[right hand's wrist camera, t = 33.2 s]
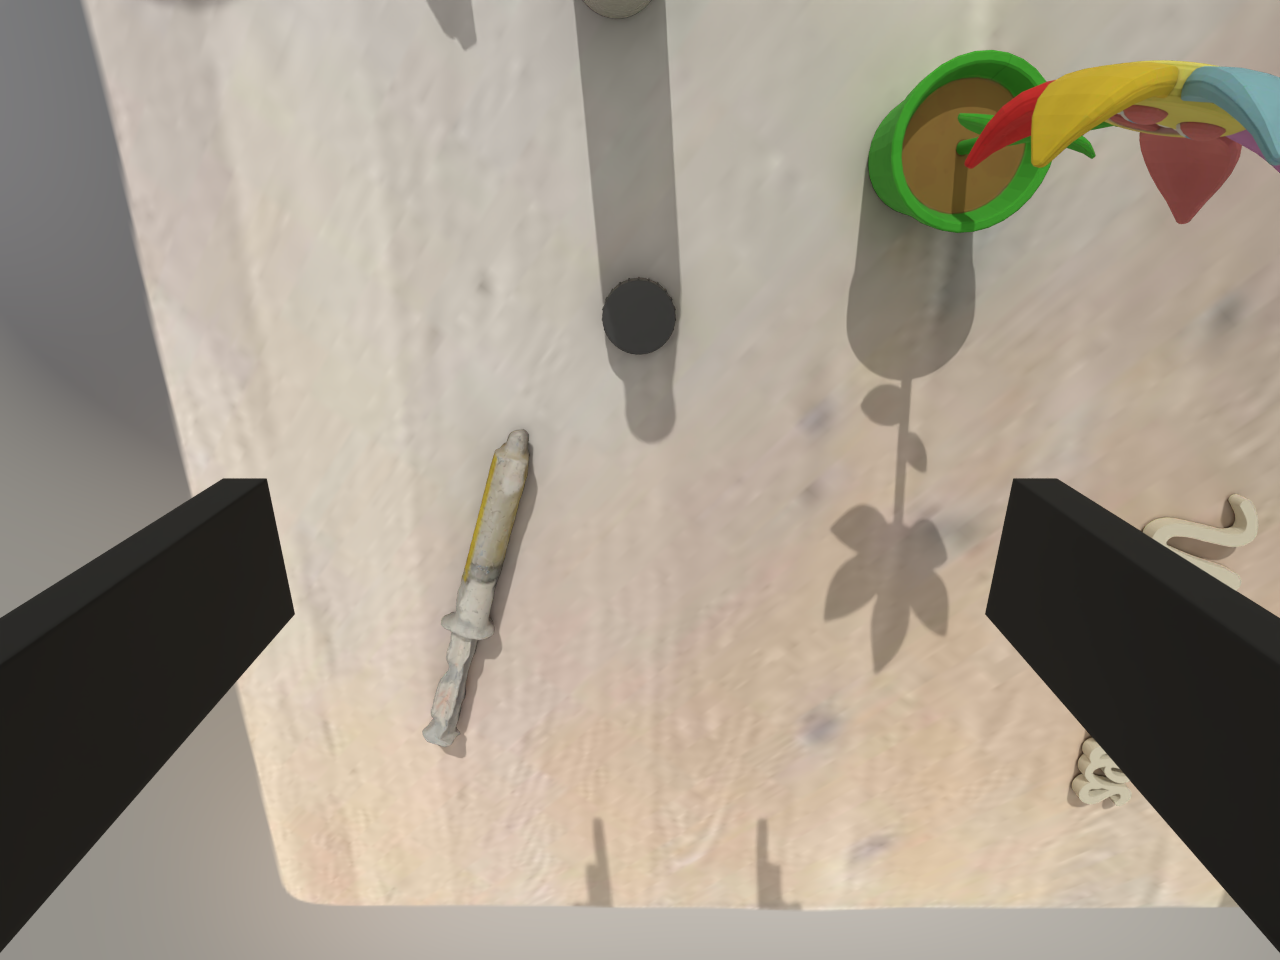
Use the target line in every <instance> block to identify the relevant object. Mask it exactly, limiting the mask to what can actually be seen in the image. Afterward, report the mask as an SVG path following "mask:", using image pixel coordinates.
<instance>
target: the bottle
mask: <svg viewBox="0 0 1280 960" xmlns="http://www.w3.org/2000/svg"><path fill="white" fill-rule="evenodd" d="M583 1H584V2H585V3H586V5H587V6H588V7H590V8H591V9H592V10H593V11H595V12H596V13H598V14H600V15H602V16H605V17H609V18H625V17H629V16H632V15H634V14H636V13H638V12H640V11H641V10H642V9H644V8H645V7H646V6H647V5H648V4H649V3H650V1H651V0H583Z"/></svg>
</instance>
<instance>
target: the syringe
mask: <svg viewBox="0 0 1280 960" xmlns="http://www.w3.org/2000/svg"><path fill="white" fill-rule="evenodd" d="M528 441H529V434H528V433H527V432H526V431H525V430H516V431H513V432H511V433H510V435H509V437H508V440H507V442H506V443H504V444H503V445H502V446H501V448H499V449H497V450H496V451H495V453H494V456H493V460H492V463H491V466H490V471H489V475H488V479H487V482H486V487H485V491H484V495H483V499H482V504H481V507H480V511H479V515H478V519H477V523H476V527H475V530H474V534H473V539H472V542H471V545H470V550H469V554H468V557H467V562H466V565H465V568H464V572H463V575H462V580H461V585H460V587H459V590H458V595H457V603H456V612H455V613H454V612H451V613H450V614H448V615H445V616H444V617H443V618H442V620H441V625H442V626H443V627H444V628H445V629H447V630H449V631H451V632H452V633H451V641H450V644H449V648H448V650H447V657H446V658H447V662H448V664H449V669H448V671H447V672H446V673H445V675H444V676H443V677H442V678H441V680H440V682H439V684H438V687H437V690H436V694H435V697H434V701H433V706H432V709H431V716H432V717H433V718H434V719H433V720H432V721H431V722H430V723H429V725H428V726H427V727H426V728H424V730H423V731H422V733H423V736H424V738H425V739H426V741H427V742H430V743H433V744H437V745H439V746H443V747H447V746H449V745H451V744H452V742H453V741H454V739H455V738H456V737H457V736H458V735H460V732H459V731H458V729H457V728H456V725H457V722H458V719H459V715H460V711H461V703H462V701H463V700H464V698H465V695H466V688H465V685H466V680H467V675H468V670H469V667H470V664H471V661H472V658H473V656H474V654H475V651H476V646H477V642H478V640H482V639H486V638H489V637H490V636H492V635H493V634H494V623H493V621H492V620H491V619H490V617H489V614H490V609H491V605H492V601H493V597H494V590H495V586H496V584H497V581H498V578H499V575H500V572H501V570H502V566H503V562H504V559H505V553H506V549H507V546H508V542H509V538H510V534H511V530H512V527H513V524H514V521H515V517H516V512H517V509H518V505H519V501H520V498H521V495H522V492H523V489H524V485H525V480H526V478H527V474H528V461H529V456H530V454H529V452H528Z"/></svg>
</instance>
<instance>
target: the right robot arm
mask: <svg viewBox="0 0 1280 960" xmlns="http://www.w3.org/2000/svg"><path fill="white" fill-rule="evenodd" d="M294 614H295V613H294V608H293V603H292V598H291V593H290V589H289V584H288V579H287V574H286V569H285V564H284V560H283V555H282V550H281V545H280V540H279V535H278V531H277V526H276V521H275V516H274V511H273V506H272V502H271V497H270V492H269V487H268V482H267V479H222V480H220V481H218V482H217V483H215V484H214V485H212V486H210V487H209V488H207V489H206V490H204V491H202V492H201V493H199V494H198V495H196V496H194V497H193V498H191V499H190V500H188V501H186V502H185V503H183V504H182V505H180V506H179V507H177V508H175V509H174V510H172V511H171V512H169V513H167V514H166V515H164V516H163V517H161V518H159V519H158V520H156V521H155V522H153V523H151V524H150V525H148V526H147V527H145V528H144V529H142V530H140V531H139V532H137V533H135V534H134V535H132V536H131V537H129V538H127V539H126V540H124V541H123V542H121V543H119V544H118V545H116V546H115V547H113V548H111V549H110V550H108V551H107V552H105V553H103V554H102V555H100V556H99V557H97V558H95V559H94V560H92V561H91V562H89V563H88V564H86V565H84V566H83V567H81V568H80V569H78V570H76V571H75V572H73V573H72V574H70V575H68V576H67V577H65V578H64V579H62V580H60V581H59V582H57V583H56V584H54V585H52V586H51V587H49V588H48V589H46V590H44V591H43V592H41V593H40V594H38V595H36V596H35V597H33V598H32V599H30V600H29V601H27V602H25V603H24V604H22V605H20V606H19V607H17V608H16V609H14V610H12V611H11V612H9V613H8V614H6V615H5V616H3V617H1V618H0V952H1V951H2V950H3V949H4V948H5V947H6V945H7V944H8V943H9V942H10V941H11V940H12V939H13V937H14V936H15V935H16V934H17V933H18V932H19V931H20V929H21V928H22V927H23V926H24V925H25V924H26V922H27V921H28V920H29V919H30V918H31V917H32V916H33V914H34V913H35V912H36V911H37V910H38V909H39V908H40V906H41V905H42V904H43V903H44V902H45V901H46V899H47V898H48V897H49V896H50V895H51V894H52V893H53V891H54V890H55V889H56V888H57V887H58V886H59V885H60V883H61V882H62V881H63V880H64V879H65V878H66V876H67V875H68V874H69V873H70V872H71V871H72V870H73V868H74V867H75V866H76V865H77V864H78V863H79V862H80V860H81V859H82V858H83V857H84V856H85V855H86V854H87V852H88V851H89V850H90V849H91V848H92V847H93V845H94V844H95V843H96V842H97V841H98V840H99V839H100V837H101V836H102V835H103V834H104V833H105V832H106V830H107V829H108V828H109V827H110V826H111V825H112V824H113V822H114V821H115V820H116V819H117V818H118V817H119V816H120V814H121V813H122V812H123V811H124V810H125V809H126V807H127V806H128V805H129V804H130V803H131V802H132V801H133V800H134V798H135V797H136V796H137V795H138V794H139V793H140V791H141V790H142V789H143V788H144V787H145V786H146V784H147V783H148V782H149V781H150V780H151V779H152V778H153V777H154V775H155V774H156V773H157V772H158V771H159V770H160V768H161V767H162V766H163V765H164V764H165V763H166V762H167V760H168V759H169V758H170V757H171V756H172V755H173V753H174V752H175V751H176V750H177V749H178V748H179V747H180V745H181V744H182V743H183V742H184V741H185V740H186V738H187V737H188V736H189V735H190V734H191V733H192V732H193V731H194V729H195V728H196V727H197V726H198V725H199V724H200V722H201V721H202V720H203V719H204V718H205V717H206V716H207V714H208V713H209V712H210V711H211V710H212V709H213V708H214V706H215V705H216V704H217V703H218V702H219V701H220V699H221V698H222V697H223V696H224V695H225V694H226V693H227V691H228V690H229V689H230V688H231V687H232V686H233V685H234V683H235V682H236V681H237V680H238V679H239V678H240V677H241V675H242V674H243V673H244V672H245V671H246V670H247V668H248V667H249V666H250V665H251V664H252V663H253V662H254V660H255V659H256V658H257V657H258V656H259V655H260V654H261V652H262V651H263V650H264V649H265V648H266V647H267V646H268V644H269V643H270V642H271V641H272V640H273V639H274V637H275V636H276V635H277V634H278V633H279V632H280V631H281V629H282V628H283V627H284V626H285V625H286V624H287V623H288V621H289V620H290V619H291V618H292V617H293V616H294ZM985 614H986V616H987V617H988V618H989V619H990V620H991V621H992V623H993V624H994V625H995V626H996V627H997V628H998V629H999V631H1000V632H1001V633H1002V634H1003V635H1004V636H1005V637H1006V639H1007V640H1008V641H1009V642H1010V643H1011V644H1012V646H1013V647H1014V648H1015V649H1016V650H1017V651H1018V652H1019V654H1020V655H1021V656H1022V657H1023V658H1024V659H1025V660H1026V662H1027V663H1028V664H1029V665H1030V666H1031V667H1032V668H1033V670H1034V671H1035V672H1036V673H1037V674H1038V675H1039V677H1040V678H1041V679H1042V680H1043V681H1044V682H1045V683H1046V685H1047V686H1048V687H1049V688H1050V689H1051V690H1052V691H1053V693H1054V694H1055V695H1056V696H1057V697H1058V698H1059V700H1060V701H1061V702H1062V703H1063V704H1064V705H1065V706H1066V708H1067V709H1068V710H1069V711H1070V712H1071V713H1072V714H1073V716H1074V717H1075V718H1076V719H1077V720H1078V721H1079V723H1080V724H1081V725H1082V726H1083V727H1084V728H1085V729H1086V731H1087V732H1088V733H1089V734H1090V735H1091V736H1092V737H1093V739H1094V740H1095V741H1096V742H1097V743H1098V744H1099V745H1100V747H1101V748H1102V749H1103V750H1104V751H1105V752H1106V754H1107V755H1108V756H1109V757H1110V758H1111V759H1112V760H1113V762H1114V763H1115V764H1116V765H1117V766H1118V767H1119V768H1120V770H1121V771H1122V772H1123V773H1124V774H1125V775H1126V777H1127V778H1128V779H1129V780H1130V781H1131V782H1132V783H1133V785H1134V786H1135V787H1136V788H1137V789H1138V790H1139V791H1140V793H1141V794H1142V795H1143V796H1144V797H1145V798H1146V800H1147V801H1148V802H1149V803H1150V804H1151V805H1152V806H1153V808H1154V809H1155V810H1156V811H1157V812H1158V813H1159V814H1160V816H1161V817H1162V818H1163V819H1164V820H1165V821H1166V822H1167V824H1168V825H1169V826H1170V827H1171V828H1172V829H1173V831H1174V832H1175V833H1176V834H1177V835H1178V836H1179V837H1180V839H1181V840H1182V841H1183V842H1184V843H1185V844H1186V845H1187V847H1188V848H1189V849H1190V850H1191V851H1192V852H1193V854H1194V855H1195V856H1196V857H1197V858H1198V859H1199V860H1200V862H1201V863H1202V864H1203V865H1204V866H1205V867H1206V868H1207V870H1208V871H1209V872H1210V873H1211V874H1212V875H1213V877H1214V878H1215V879H1216V880H1217V881H1218V882H1219V883H1220V885H1221V886H1222V887H1223V888H1224V889H1225V890H1226V891H1227V893H1228V894H1229V895H1230V896H1231V897H1232V898H1233V900H1234V901H1235V902H1236V903H1237V904H1238V905H1239V906H1240V908H1241V909H1242V910H1243V911H1244V912H1245V913H1246V914H1247V916H1248V917H1249V918H1250V919H1251V920H1252V921H1253V922H1254V924H1255V925H1256V926H1257V927H1258V928H1259V929H1260V931H1261V932H1262V933H1263V934H1264V935H1265V936H1266V937H1267V939H1268V940H1269V941H1270V942H1271V943H1272V944H1273V945H1274V947H1275V948H1276V949H1277V950H1278V951H1279V952H1280V618H1279V617H1277V616H1275V615H1274V614H1272V613H1271V612H1269V611H1268V610H1266V609H1264V608H1263V607H1261V606H1260V605H1258V604H1256V603H1255V602H1253V601H1252V600H1250V599H1248V598H1247V597H1245V596H1244V595H1242V594H1240V593H1239V592H1237V591H1236V590H1234V589H1232V588H1231V587H1229V586H1228V585H1226V584H1224V583H1223V582H1221V581H1220V580H1218V579H1216V578H1215V577H1213V576H1212V575H1210V574H1208V573H1207V572H1205V571H1204V570H1202V569H1200V568H1199V567H1197V566H1196V565H1194V564H1192V563H1191V562H1189V561H1188V560H1186V559H1184V558H1183V557H1181V556H1180V555H1178V554H1177V553H1175V552H1173V551H1172V550H1170V549H1169V548H1167V547H1165V546H1164V545H1162V544H1161V543H1159V542H1157V541H1156V540H1154V539H1153V538H1151V537H1149V536H1148V535H1146V534H1145V533H1143V532H1141V531H1140V530H1138V529H1137V528H1135V527H1133V526H1132V525H1130V524H1129V523H1127V522H1125V521H1124V520H1122V519H1121V518H1119V517H1117V516H1116V515H1114V514H1113V513H1111V512H1109V511H1108V510H1106V509H1105V508H1103V507H1101V506H1100V505H1098V504H1097V503H1095V502H1094V501H1092V500H1090V499H1089V498H1087V497H1086V496H1084V495H1082V494H1081V493H1079V492H1078V491H1076V490H1074V489H1073V488H1071V487H1070V486H1068V485H1066V484H1065V483H1063V482H1062V481H1060V480H1058V479H1013V482H1012V487H1011V492H1010V497H1009V502H1008V506H1007V511H1006V516H1005V521H1004V526H1003V531H1002V535H1001V540H1000V545H999V550H998V555H997V560H996V564H995V569H994V574H993V579H992V584H991V589H990V593H989V598H988V603H987V608H986V613H985Z"/></svg>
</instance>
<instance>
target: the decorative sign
mask: <svg viewBox="0 0 1280 960" xmlns="http://www.w3.org/2000/svg"><path fill="white" fill-rule="evenodd" d="M1229 503H1230V504H1231V506H1232V509H1233V511H1234V513H1235V522H1234V524H1233V526H1231V527H1229V528H1216V527H1212V526H1208V525H1204V524H1200V523H1195V522H1191V521H1186V520H1182V519H1177V518H1169V517H1167V518H1159V519H1156V520H1153V521H1151V522H1150V523H1148V524H1147V525H1146V526H1145V528H1144V530H1143V533H1145V534H1146V535H1148V536H1149V537H1151V538H1153V539H1154V540H1156V541H1157V542H1159V543H1161V544H1162V545H1164V546H1165V547H1167V548H1169V549H1170V550H1172V551H1173V552H1175V553H1177V554H1178V555H1180V556H1181V557H1183V558H1184V559H1186V560H1188V561H1189V562H1191V563H1192V564H1194V565H1196V566H1197V567H1199V568H1200V569H1202V570H1204V571H1205V572H1207V573H1208V574H1210V575H1212V576H1213V577H1215V578H1216V579H1218V580H1220V581H1221V582H1223V583H1224V584H1226V585H1228V586H1229V587H1231V588H1232V589H1234V590H1236V591H1237V590H1238V589H1239V587H1240V585H1241V578H1240V576H1239V575H1238V574H1236V573H1234V572H1233V571H1231V570H1229V569H1228V568H1226V567H1224V566H1222V565H1220V564H1217V563H1214V562H1211V561H1208V560H1205V559H1202V558H1199V557H1196V556H1193V555H1190V554H1187V553H1185V552H1182V551H1180V550H1178V549H1175V548H1173V547H1171V546H1169V545H1167V544H1166V543H1167V541H1168V539H1170V538H1171V537H1175V536H1179V537H1189V538H1194V539H1198V540H1201V541H1205V542H1209V543H1214V544H1218V545H1223V546H1228V547H1241V546H1244V545H1247V544H1249V543H1250V542H1251V541H1253V539H1254V538H1255V537H1256V534H1257V531H1258V516H1257V512H1256V509H1255V507H1254V505H1253V503H1252V502H1251V500H1249V499H1247V498H1245V497H1242V496H1240V495H1238V494H1233V495H1231V496H1230V497H1229ZM1082 750H1083V753H1084V754H1083V755H1082V756H1081V757H1080V758H1079V760H1078V768H1079V770H1080V771H1081V773H1082V774H1080V775H1078V776H1077V777H1076V778H1075V779H1074V780H1073V782H1072V789H1073V791H1074V792H1075V793H1076V795H1077V796H1078V797H1079V799H1080V800H1081V801H1082V802H1084V803H1086V804H1096V803H1098V802H1101V801H1103V800H1104V799H1106V798H1108V797H1109V798H1110V799H1111V800H1112V801H1113V802H1114V804H1115V805H1116V806H1122V805H1124V804H1126V803H1127V802H1128V801H1129V800H1130V799H1131V791H1130V789H1129V788H1128V787H1127V786H1126V785H1125V783H1127V782H1129V781H1130V780H1129V779H1128V778H1127V777H1126V775H1125V774H1124V773H1123V772H1122V771H1121V770H1120V768H1119V767H1118V766H1117V765H1116V764H1115V763H1114V762H1113V760H1112V759H1111V758H1110V757H1109V756H1108V755H1107V754H1106V752H1105V751H1104V750H1103V749H1102V748H1101V747H1100V745H1099V744H1098V743H1097V742H1096V741H1095V740H1094V739H1093V738H1089V739H1087V740H1086V741H1085V742H1084V743H1083V746H1082ZM1098 768H1100V769H1101V770H1102V771H1103V772H1104V774H1105V775H1106V776H1107V777H1103V776H1097V775H1094V774H1093V771H1094V770H1096V769H1098Z"/></svg>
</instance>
